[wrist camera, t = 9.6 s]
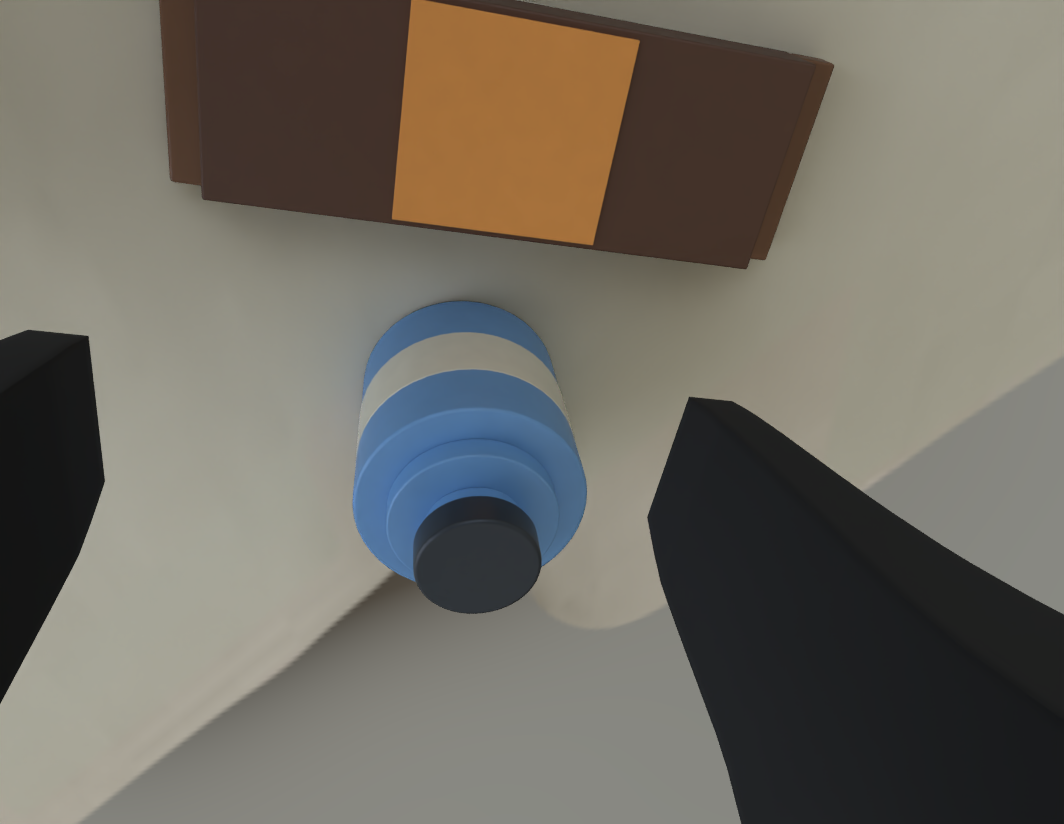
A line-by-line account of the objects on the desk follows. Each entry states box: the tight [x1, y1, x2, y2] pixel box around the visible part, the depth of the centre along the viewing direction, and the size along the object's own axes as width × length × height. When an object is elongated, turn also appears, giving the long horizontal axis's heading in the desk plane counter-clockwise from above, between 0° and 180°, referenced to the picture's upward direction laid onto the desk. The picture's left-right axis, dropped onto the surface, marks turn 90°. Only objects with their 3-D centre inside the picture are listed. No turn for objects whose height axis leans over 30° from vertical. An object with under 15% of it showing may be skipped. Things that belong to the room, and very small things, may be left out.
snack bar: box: [159, 0, 834, 269], centre depth 17 cm, size 14×4×2 cm, turn 80°
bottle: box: [353, 301, 587, 614], centre depth 18 cm, size 5×5×7 cm
